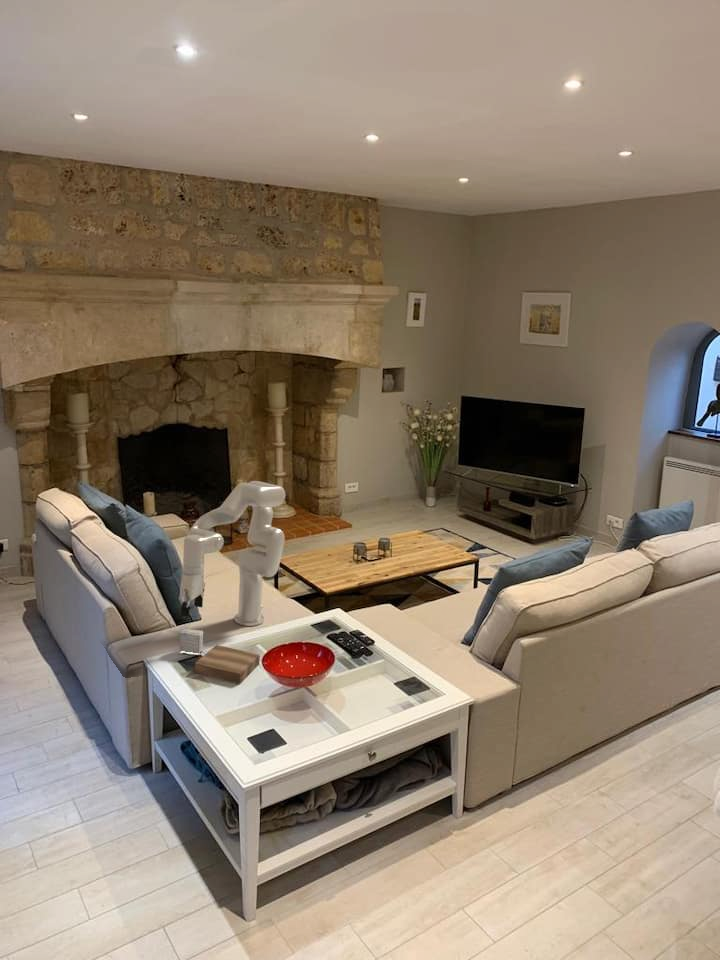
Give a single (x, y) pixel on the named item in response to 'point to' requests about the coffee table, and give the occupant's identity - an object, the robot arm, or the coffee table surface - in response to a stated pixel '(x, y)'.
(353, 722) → the coffee table surface
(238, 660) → the wooden block
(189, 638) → the medicine box
